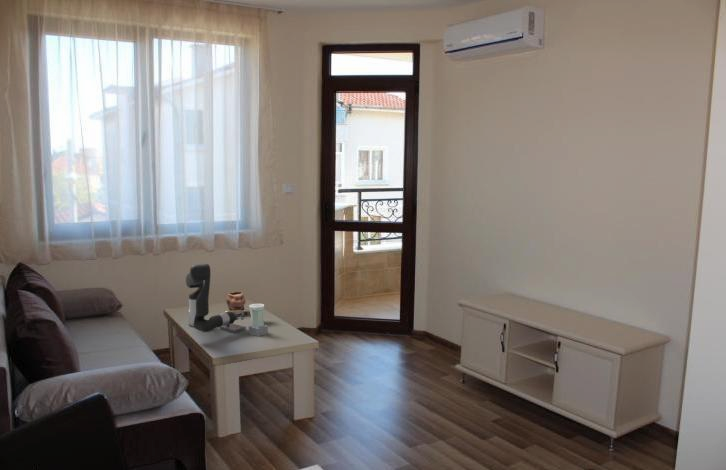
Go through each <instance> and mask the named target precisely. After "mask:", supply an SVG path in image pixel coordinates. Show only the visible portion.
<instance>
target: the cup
mask: <svg viewBox="0 0 726 470" xmlns="http://www.w3.org/2000/svg"><path fill="white" fill-rule="evenodd" d="M248 308H249V311H250V312H249V313H250V317H251V321H252V323H253V311H252V310H253V309H256V308H260V309H265V304H263V303H251V304H249V305H248Z"/></svg>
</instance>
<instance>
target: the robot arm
mask: <svg viewBox="0 0 726 470" xmlns="http://www.w3.org/2000/svg"><path fill="white" fill-rule="evenodd" d="M210 284H211V266H210V265H209V264H208V263H198V264H197V263H196V264H192V265H191V266H190V269H189V273H187V274H186V276H185V285H186V287H187V288H189V289H195V288H196V290H194V291H192V292H190V293H189V294H188V308H189V310H188V311H187V314H188V316H187V317H188V326H190V327H194V329H195V330H197V331H199V332H201V333H210V332H211V331H213V330H215V329H216V328H220V327H221V326H225V325H229V324H235V321H238V320H241V321H242V320H244V319H245V318H246V316H248V315H249V314H248V311H247V310H246V311H245V312H230V310H229V312H225V311H224V312H222V313H219V314H216V315H213V316H210V317H209V319H206V318H205V317H206V316H208V315H209V313H210V311H209V295H210V286H211V285H210Z"/></svg>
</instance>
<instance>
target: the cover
mask: <svg viewBox="0 0 726 470" xmlns="http://www.w3.org/2000/svg"><path fill="white" fill-rule="evenodd" d="M264 309H265V308H264ZM264 309H260V308H256V309H253V310H252V311H253V322H252V325H253V327H256V328H260V327H263V326H264V325H265V323H264V311H265V310H264Z"/></svg>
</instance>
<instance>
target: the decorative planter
mask: <svg viewBox="0 0 726 470" xmlns="http://www.w3.org/2000/svg"><path fill="white" fill-rule="evenodd" d="M225 301H226V306H227V307H228V310H229V311H241V310H245V304H246V299H245V296H244V294H243V292H242V291H234V292H229V293H228V294H227V297H226V300H225Z"/></svg>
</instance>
